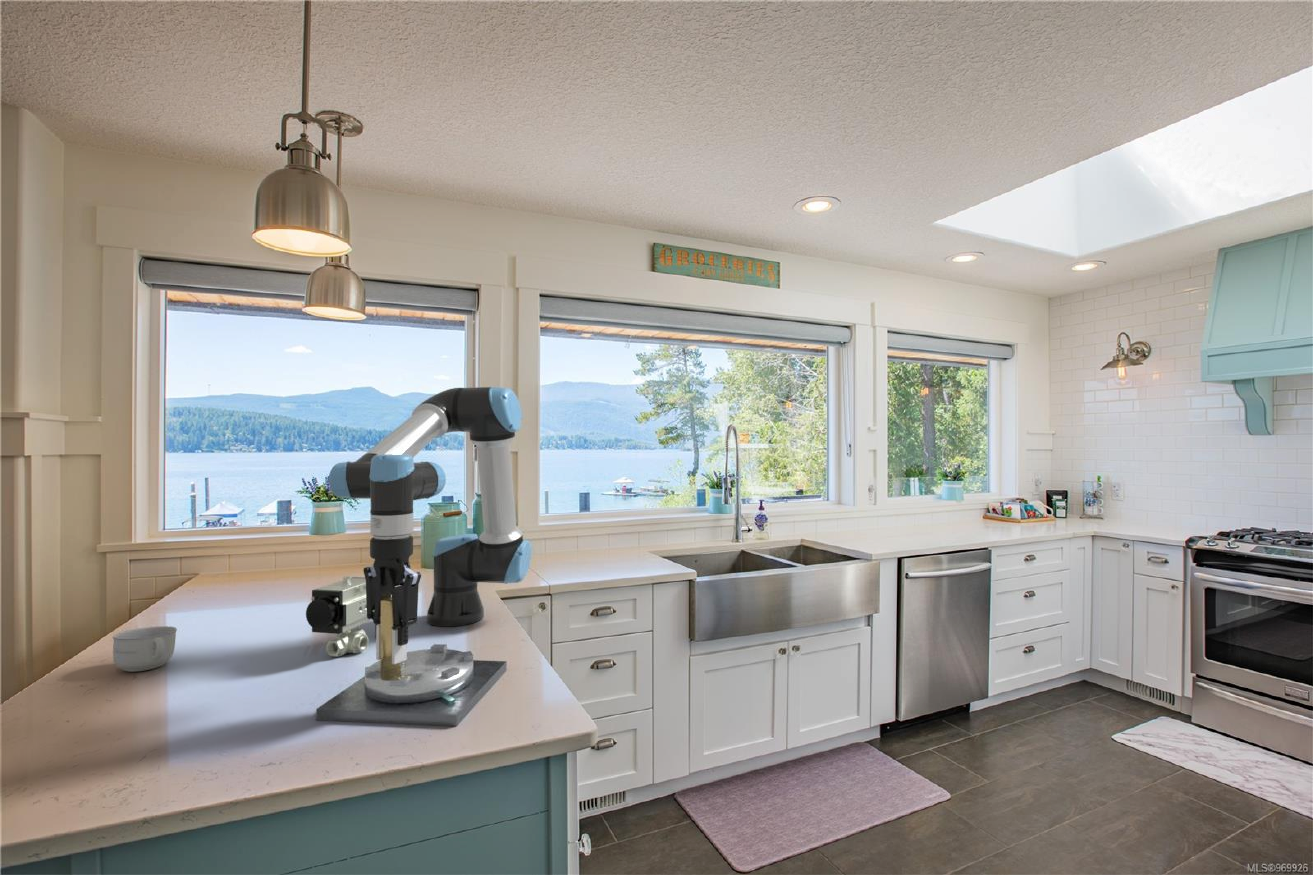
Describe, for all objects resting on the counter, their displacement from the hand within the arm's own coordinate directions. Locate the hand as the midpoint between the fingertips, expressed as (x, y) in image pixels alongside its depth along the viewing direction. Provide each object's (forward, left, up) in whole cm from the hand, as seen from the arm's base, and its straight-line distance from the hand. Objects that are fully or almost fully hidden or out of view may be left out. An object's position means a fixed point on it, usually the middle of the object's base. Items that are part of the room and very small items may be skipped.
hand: (391, 659), depth 116 cm
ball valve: (-27, -25, -9) cm, 38 cm away
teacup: (-13, -63, -9) cm, 65 cm away
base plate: (-6, +3, -9) cm, 11 cm away
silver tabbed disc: (-6, +3, -6) cm, 9 cm away
